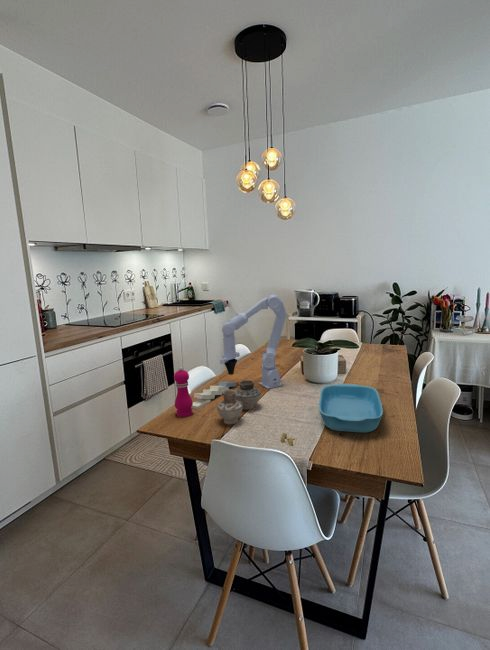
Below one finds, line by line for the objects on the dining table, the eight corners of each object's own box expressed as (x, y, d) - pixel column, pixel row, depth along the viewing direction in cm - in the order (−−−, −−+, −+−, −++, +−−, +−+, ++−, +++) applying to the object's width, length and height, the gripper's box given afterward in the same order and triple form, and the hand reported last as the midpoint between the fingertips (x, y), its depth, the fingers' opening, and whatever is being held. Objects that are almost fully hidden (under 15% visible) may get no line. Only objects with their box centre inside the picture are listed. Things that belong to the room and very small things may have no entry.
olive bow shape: (292, 447, 115) (292, 442, 114) (277, 444, 117) (277, 439, 117) (297, 440, 119) (297, 435, 119) (283, 437, 122) (283, 432, 121)
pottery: (211, 424, 133) (209, 394, 131) (241, 400, 155) (240, 374, 153) (238, 429, 128) (236, 398, 126) (265, 403, 150) (264, 376, 148)
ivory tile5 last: (202, 397, 157) (189, 404, 149) (210, 399, 154) (197, 406, 147) (202, 401, 157) (189, 408, 150) (210, 402, 155) (197, 410, 147)
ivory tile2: (221, 385, 169) (210, 385, 161) (229, 387, 167) (218, 386, 159) (220, 389, 169) (209, 389, 161) (228, 391, 166) (218, 390, 159)
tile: (214, 389, 164) (203, 389, 157) (222, 390, 162) (211, 390, 154) (213, 393, 164) (202, 393, 156) (222, 394, 162) (211, 394, 154)
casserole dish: (322, 396, 155) (321, 381, 154) (375, 399, 149) (376, 383, 148) (316, 437, 120) (316, 417, 119) (386, 442, 114) (387, 422, 113)
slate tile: (228, 381, 175) (218, 382, 167) (236, 382, 172) (226, 383, 164) (227, 385, 174) (218, 385, 167) (235, 386, 172) (226, 387, 164)
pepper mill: (197, 413, 143) (193, 366, 140) (182, 419, 138) (178, 370, 134) (186, 408, 148) (182, 363, 145) (171, 414, 143) (167, 367, 139)
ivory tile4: (206, 393, 160) (194, 393, 152) (214, 394, 157) (202, 394, 150) (206, 397, 159) (193, 397, 152) (214, 399, 157) (202, 399, 149)
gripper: (230, 343, 178) (232, 369, 180) (214, 350, 166) (215, 377, 168) (242, 344, 174) (243, 370, 177) (226, 351, 162) (228, 379, 165)
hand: (231, 374), depth 172 cm, fingers closed
